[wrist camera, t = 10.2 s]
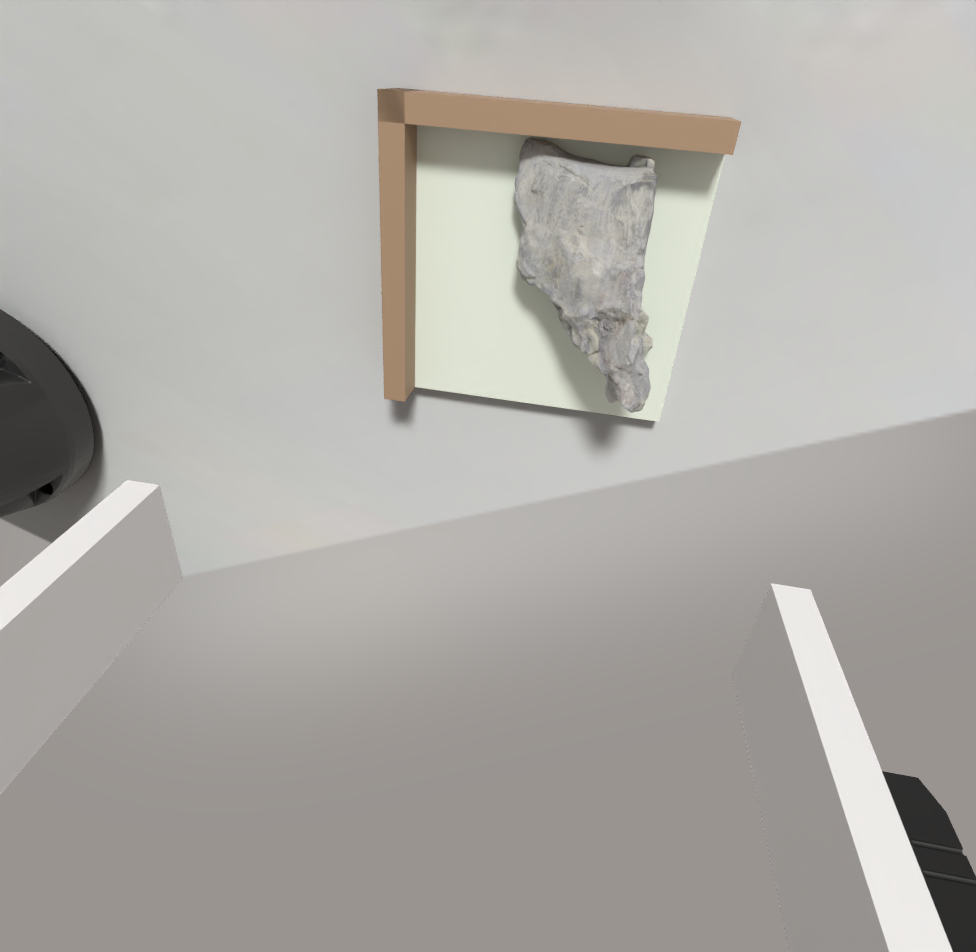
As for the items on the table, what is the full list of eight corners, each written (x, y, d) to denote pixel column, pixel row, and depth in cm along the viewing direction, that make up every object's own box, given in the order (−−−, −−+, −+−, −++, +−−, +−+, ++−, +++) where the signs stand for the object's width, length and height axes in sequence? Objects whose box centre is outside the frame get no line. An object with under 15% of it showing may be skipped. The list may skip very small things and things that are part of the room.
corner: (399, 377, 38) (384, 398, 35) (398, 88, 30) (377, 89, 27) (658, 413, 36) (661, 438, 33) (730, 117, 28) (741, 121, 25)
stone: (531, 390, 35) (520, 421, 31) (510, 141, 29) (495, 145, 25) (651, 386, 33) (655, 418, 30) (656, 123, 28) (661, 125, 24)
